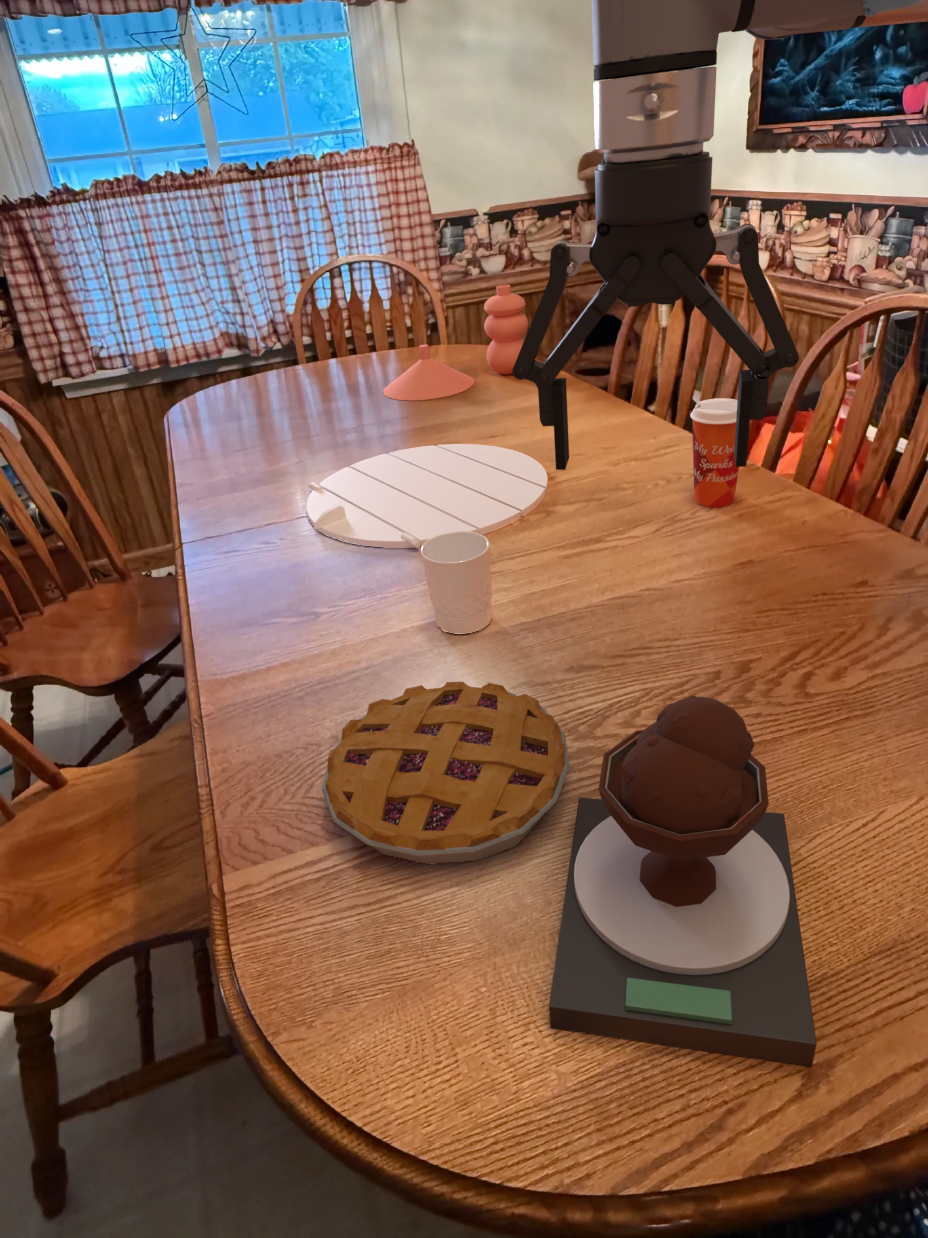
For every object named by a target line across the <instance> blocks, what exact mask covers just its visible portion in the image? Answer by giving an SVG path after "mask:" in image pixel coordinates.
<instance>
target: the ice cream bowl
mask: <svg viewBox="0 0 928 1238" xmlns="http://www.w3.org/2000/svg"><path fill="white" fill-rule="evenodd" d="M754 747H755V742H754V740H753V737H752V735H751V733H750V732H749V730H748V728H747V726H746V723H745V720H744V718H743V717H742V716H741V715H740V714H739V713H738V712H737V711H736V709H735V708H732V707H731V706H729V705H727V704H725V703H724V702H722V701H720V700H718V699H716V698H712V697H708V696H696V695H689V696H688V697H685V698H683V699H677V701H675V702H672V703H669V704H668V705H666V706H665V707H664V708H663V709H662V710H661V711H660V712H659V713H658V714H657V716H656V720H655V722H653V723H651V725H649V726H647V727H646V728H644V729H640V730H635V731H634V732H632V733H631V734H629V735H628V736H626V737H625V738H623V740H621V741H620V742H619V743H617V744H615V745H614V746H613V747H612V748H610V749H609V750H607V751H606V752H605V753H603V754H602V755H603V756H602V763H601V769H600V777H599V783H598V793H599V795H600V799H602V802H603V805H604V806H605V808H606V809H607V811H608V812H609V814H610V815H611V816H612V818H613V819H614V820H615V821H616V823H617V824H618V825H619V826H620V827H621V829H622V830H623V831H624V832H625V834H626V835H627V836H628V837H629V839H630V840H631V841H632V842H633V844H634V845H635V846H638V847H641V848H644V849H647V850H650V851H651V852H649V853H648V854H647V855H646V856H645V857H643V859H642V861H641V867H640V880H639V881H640V882H641V883H642V885H643V886H644V887H645V888H646V890H647V891H648V892H649V894H650V895H651V896H652V897H653V898H654V899H657V900H660V901H662V902H665V903H668V904H670V905H673V906H675V907H681V906H688V905H696V904H702V903H703V902H704V901H705V900H706V899H707V898H708V897H709V896H710V895H711V894H712V893H713V892H714V891H715V890H716V870H715V867H714V865H713V864H712V863H711V862H710V861H709V859H708V858H707V857H713V856H720V855H725V854H727V853H728V852H729V851H730V850H731V849H732V848H733V847H734V846H735V845H736V844H737V843H738V842H740V841H741V840H742V839H743V838H744V837H745V836H746V835H747V834H748V833H749V832H750V831H751V830H752V829H753V828H754V827H755V826H756V825H757V824H758V823H759V822H760V821H761V820H762V819H763V816H764V814H765V812H767V809H768V807H769V805H770V803H769V792H768V781H767V772H766V766H765V765H764V764H763V763H761V762H760V761H759V760H758V759H757V758H756V757H755V756H754V755H752V751H753V749H754Z"/></svg>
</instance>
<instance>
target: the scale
mask: <svg viewBox="0 0 928 1238" xmlns="http://www.w3.org/2000/svg"><path fill="white" fill-rule="evenodd" d="M649 852H651V851H650V850H647V849H644V848H641V847H638V846H635V845H634V844H633V842H632V841H631V840H630V839H629V837H628V836H627V835H626V834H625V832H624V831H623V830H622V829H621V827H620V826H619V825H618V824H617V823H616V821H615V820H614V819H613V818H612V816H611V815H610V814H609V812H608V811H607V809H606V808H605V806H604V805H603V802H602V799H601V798H594V797H593V798H592V797H591V798H590V797H579V798H578V802H577V809H576V816H575V823H574V829H573V838H572V844H571V851H570V858H569V865H568V871H567V879H566V885H565V893H564V899H563V905H562V906H563V907H562V913H561V919H560V926H559V933H558V940H557V948H556V954H555V961H554V969H553V975H552V982H551V989H550V995H549V1003H548V1012H549V1013H548V1014H549V1024H550V1028H551V1029H554V1030H560V1031H568V1032H574V1033H580V1034H586V1035H593V1036H601V1037H606V1038H607V1037H608V1038H609V1037H610V1038H613V1039H615V1038H616V1039H621V1040H627V1041H635V1042H642V1043H647V1044H656V1045H662V1046H670V1047H676V1048H683V1049H689V1050H697V1051H703V1052H709V1053H717V1054H723V1055H730V1056H737V1057H742V1058H743V1057H744V1058H750V1059H755V1060H756V1059H757V1060H763V1061H771V1062H776V1063H777V1062H778V1063H784V1064H791V1065H796V1066H797V1065H798V1066H805V1067H813V1065H814V1058H815V1054H816V1049H817V1045H818V1043H817V1036H816V1031H815V1029H816V1028H815V1023H814V1015H813V1010H812V1009H813V1007H812V1001H811V996H810V995H811V993H810V988H809V980H808V974H807V966H806V959H805V952H804V945H803V939H802V930H801V924H800V916H799V910H798V903H797V902H798V901H797V895H796V889H795V882H794V881H795V880H794V876H793V867H792V862H791V854H790V846H789V839H788V832H787V825H786V818H785V814H784V813H781V812H769V811H766V812H765V814H764V816H763V819H762V820H761V821H760V822H759V823H758V824H757V825H756V826H755V827H754V828H753V829H752V830H751V831H750V832H749V833H748V834H747V835H746V836H745V837H744V838H743V839H742V840H741V841H740V842H738V843H737V844H736V845H735V846H734V847H733V848H732V849H731V850H730V851H729V852H728V853H727V854H725V855H720V856H713V857H707V858H708V859H709V861H710V862H711V863H712V864H713V865H714V867H715V870H716V890H715V891H714V892H713V893H712V894H711V895H710V896H709V897H708V898H707V899H706V900H705V901H704V902H703V903H702V904H696V905H688V906H681V907H675V906H673V905H670V904H668V903H665V902H662V901H660V900H657V899H654V898H653V897H652V896H651V895H650V894H649V892H648V891H647V890H646V888H645V887H644V886H643V885H642V883H641V882H640V881H639V880H640V867H641V861H642V859H643V857H645V856H646V855H647V854H648V853H649Z"/></svg>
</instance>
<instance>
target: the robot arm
mask: <svg viewBox="0 0 928 1238" xmlns="http://www.w3.org/2000/svg"><path fill="white" fill-rule="evenodd" d="M922 22H923V23H925V22H928V0H591V27H592V30H591V31H592V56H593V57H592V61H593V62H592V63H593V81H594V82H593V86H592V87H593V130H594V131H593V137H594V138H593V140H594V141H593V142H594V144H593V145H594V151H596V153H598V154H603V158H602V162H600V163H598V164H597V168H595V169H594V179H595V180H594V187H595V188H594V189H595V190H594V191H595V235H594V239H593V241H592V243H575V242H570V241H569V240H568V239H566V238H561V239H559V240H558V241H557V242H556V243H555V244H554V245H553V247H552V248H551V250H550V257H549V258H550V260H549V277H548V281H547V283H546V286H545V288H544V291H543V293H542V295H541V298H540V301H539V303H538V306H537V308H536V310H535V313H534V315H533V318H532V320H531V322H530V325H529V327H528V329H527V330H528V331H526V332H527V333H526V335H525V337H524V342H523V345H522V347H521V350H520V352H519V355H518V357H517V360H516V362H515V365H514V367H513V371H512V372H513V374H512V375H513V377H514V378H515V379H517V380H519V381H521V380H525V381H530V382H532V383H534V385H535V386H536V388H537V394H538V397H537V398H538V412H539V413H538V414H539V422H540V424H541V426H542V427H553V437H554V458H555V459H554V460H555V470H556V471H565V470H567V466H568V464H569V463H568V462H569V459H570V444H569V443H570V441H569V439H570V438H569V417H568V414H569V413H568V393H567V391H568V390H567V377H557V376H558V375H559V374H560V373H561V372H562V371H563V369H564V368H565V366H566V365H567V364H568V362H569V361H570V360H571V359H572V357H573V356H574V355H575V353H576V352H577V351H578V349H579V348H580V347H581V346H582V344H583V343H584V342H585V340H586V339H587V337H589V335H590V334H591V333H592V332H593V330H594V328H595V327H596V326H597V325H598V323H599V322H600V321H601V320H602V318H603V317H604V316H605V315H606V314H607V312H608V311H609V310H610V309H611V307H613V305H614V303H615V302H616V301H618V302H620V303H622V304H624V305H627V306H628V308H634V307H636V308H637V307H642V306H645V305H647V304H650V303H652V304H657V305H662V306H665V305H667V306H668V305H674V303H675V302H678V301H679V300H681V299H682V298H683V297H685V296H686V298H687V299H688V300H689V301H690V302H691V304H692V305H693V306H694V307H695V308H696V309H697V310H698V311H699V312H700V313H701V314H702V315H703V316H704V318H705V319H706V320H707V321H708V323H710V325H711V326H712V327H713V328H714V329H715V330H716V332H717V333H718V334H719V335H720V337H721V338H722V339H723V340H724V341H725V342H726V344H727V345H728V346H729V347H730V348H731V349H732V351H733V352H734V353H735V354H736V356H737V357H738V358H739V359H740V360H741V362H742V363H743V364H744V365H745V366H746V367H747V368H748V369H739V375H738V376H739V377H738V389H737V390H738V391H737V400H738V402H737V417H736V432H735V446H734V457H735V464H736V467H739V468H741V467H742V468H744V467H745V468H746V467H747V465H748V464H747V463H748V451H749V437H750V424H751V421H759V420H760V421H761V420H764V419H765V416H766V414H767V409H768V397H769V385H770V379H771V377H772V375H773V374H774V373H775V372H777V371H780V370H782V369H785V368H788V369H789V368H793V367H794V366H797V364H798V363H799V360H800V355H799V352H798V350H797V348H796V345H795V343H794V341H793V339H792V336H791V333H790V331H789V329H788V327H787V324H786V323H785V320H784V318H783V315H782V313H781V311H780V308H779V305H778V304H777V302H776V298H775V297H774V295H773V292H772V290H771V287H770V286H769V282H768V281H767V278H766V276H765V273H764V271H763V269H762V267H761V264H760V251H759V250H760V247H759V233H758V232H757V230H756V228H755V226H754V225H753V224H751V223H744V224H741V225H740V226H739V227H738V228H737V229H736V228H735V229H732V230H727V231H722V232H717V233H714V231H713V229H712V227H711V199H712V181H713V179H712V178H713V158H714V157H713V156H710V152H709V151H704V143H707V142H710V140H711V139H712V138H713V137H714V133H715V113H716V111H715V110H716V89H717V66H716V65H717V64H718V63H717V62H718V51H717V49H718V44H719V43H718V42H719V36H720V34H723V33H729V32H731V33H739V32H744V31H745V32H746V33H747V34H749V35H751V36H752V37H754V38H757V39H760V40H782V39H786V38H790V37H791V36H793V35H798V34H809V33H818V32H819V33H821V32H831V31H842V30H843V31H844V30H850V29H855V28H866V27H867V28H868V27H877V26H878V27H879V26H891V25H900V24H901V25H902V24H911V23H922ZM716 252H720V253H721V252H722V253H723V255H725V258H726V260H727V262H728V263H729V264H730V265H733V266H734V265H739V268H740V271H741V275H742V277H743V280H744V282H745V284H746V286H747V289H748V291H749V293H750V295H751V299H752V301H753V302H754V304H755V307H756V310H757V311H758V314H759V317H760V319H761V321H762V323H763V325H764V327H765V330H766V332H767V334H768V337H769V339H770V341H771V343H772V346H773V348H771V349H768V350H765V351H764V350H763V349H762V348H761V347H760V345H759V344H758V343H757V342H756V340H755V339H754V338H753V337H752V336H751V334H750V333H749V332H748V330H747V329H746V328H745V327H744V326H743V325H742V323H741V322H740V321H739V320H738V319H737V317H735V315H734V314H733V312H731V310H730V309H729V308H728V307H727V306H726V304H725V303H724V302H723V301H722V299H720V298H719V297H720V296H718V295H717V293H716V292H715V291H714V289H713V288H712V287H711V285H710V284H709V283H708V282H707V280H706V279H705V278H704V277H703V276H702V274H701V273H702V272H703V271H704V270H705V268H706V267H707V265H708V264H709V263H710V261H711V259H712V258H713V257H714V255H715V253H716ZM587 262H590V264H591V266H592V268H593V269H594V270H595V272H596V273H597V274H598V276H599V277H600V278H601V279H602V281H603V283H602V285H601V286H600V288H599V289H598V290H597V292H596V293H595V294H594V296H593V297H592V298H591V300H590V301H589V302H588V303H587V305H586V307H585V308H584V309H583V311H582V312H581V313H580V315H579V316H578V317H577V319H576V320H575V322H574V323H573V324H572V325H571V326H570V328H569V330H568V331H567V332H566V333H565V335H564V336H563V338H561V340H560V341H559V342H558V344H557V345H556V347H555V348H554V349H553V351H552V352H551V353H550V355H549V356H548V357H547V359H546V360H545V362H542V361H540V360H536V359H537V356H538V353H539V351H540V349H541V346H542V344H543V342H544V340H545V337H546V334H547V333H548V330H549V327H550V325H551V323H552V320H553V318H554V316H555V314H556V310H557V308H558V306H559V303H560V301H561V299H562V296H563V294H564V292H565V289H566V286H567V284H568V282H569V278H570V277H571V278H572V277H575V276H577V274H578V273H579V272H580V270H581V268H582V265H583V264H584V263H587Z"/></svg>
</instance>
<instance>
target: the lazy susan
mask: <svg viewBox="0 0 928 1238" xmlns="http://www.w3.org/2000/svg"><path fill="white" fill-rule="evenodd" d="M308 488H309V489H310V490H312V491H311V492H310V493H309V495H308V497H307V499H306V503H305V510H306V513H307V514H306V515H307V519H308V518H309V519H308V521H309V520H310V521H309V523H310V522H311V523H312V524H313V526H314V527H313V526H312V527H313V529H314V530H316V531H318V530H319V531H321V532H322V533H324V534H326V535H328V536H330V537H334V538H335V539H339V540H342V541H347V542H350V543H356V544H360V545H365V546H377V547H384V548H383V549H419V548H420V547H422V546H423V544H424V543H425V542H426V541H428V540H429V539H431V538H433V537H435V536H438V535H441V534H444V533H449V532H456V531H468V532H475V533H478V534H481V535H483V536H485V535H487V534H490V533H493V532H495V531H498V530H500V529H501V530H502V529H503V528H505V527H507V526H508V527H509V526H510V525H512V524H513V523H516V522H518V521H519V520H521V519H522V518H524V517H526V516H528V515H529V514H530V513H531V512H533V511H534V510H535V509H536V508H537V507H538V506H539V505H540V504H541V503H542V502H543V500H544V499H545V497H546V494H547V493H548V488H549V481H548V473H547V471H546V469H545V468H544V466H543V465H542V464H541V463H540V462H539V461H537V460H536V459H535V458H533V457H531V456H529V455H527V454H526V453H523V452H520V451H517V450H515V449H510V448H507V447H502V446H495V445H487V444H477V443H475V444H474V443H451V444H450V443H448V444H447V443H446V444H444V443H443V444H436V445H434V444H433V445H424V446H423V445H422V446H416V447H410V448H404V449H399V450H395V451H390V452H388V453H386V452H385V453H382V454H378V455H374V456H372V457H369V458H366V459H363V460H360V461H357V462H355V463H353V464H350V465H349V466H345V467H344V468H342V469H339V470H337V471H336V472H333V473H332V474H330V475H329V476H328V477H326V478H325V479H323V480H322V481H321V482H320V483H318V484H317V483H315V482H309V483H308ZM311 523H310V524H311ZM312 524H311V525H312ZM317 529H318V530H317ZM319 531H318V532H319ZM322 533H321V534H322Z"/></svg>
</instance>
